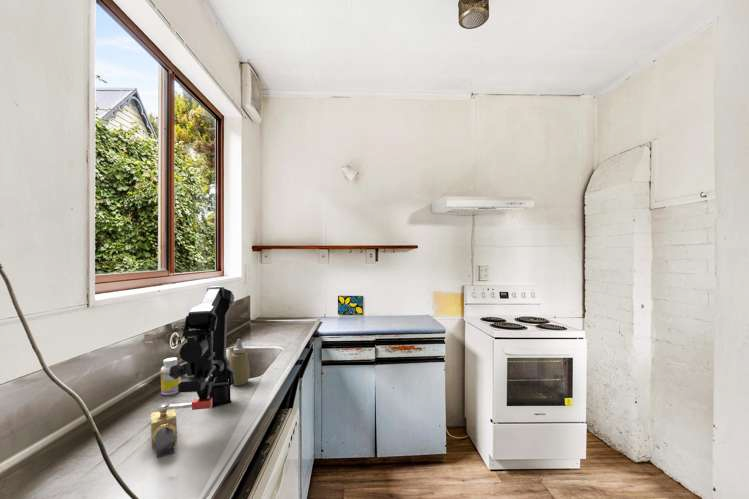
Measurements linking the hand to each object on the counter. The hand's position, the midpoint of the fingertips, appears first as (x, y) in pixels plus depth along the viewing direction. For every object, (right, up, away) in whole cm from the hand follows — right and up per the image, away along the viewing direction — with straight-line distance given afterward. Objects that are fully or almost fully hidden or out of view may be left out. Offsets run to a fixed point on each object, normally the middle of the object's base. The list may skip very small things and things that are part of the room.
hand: (203, 403), depth 104 cm
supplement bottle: (-28, -9, +30) cm, 42 cm away
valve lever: (-4, 0, -3) cm, 5 cm away
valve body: (-9, -8, -4) cm, 13 cm away
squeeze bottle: (-4, -9, +38) cm, 39 cm away
